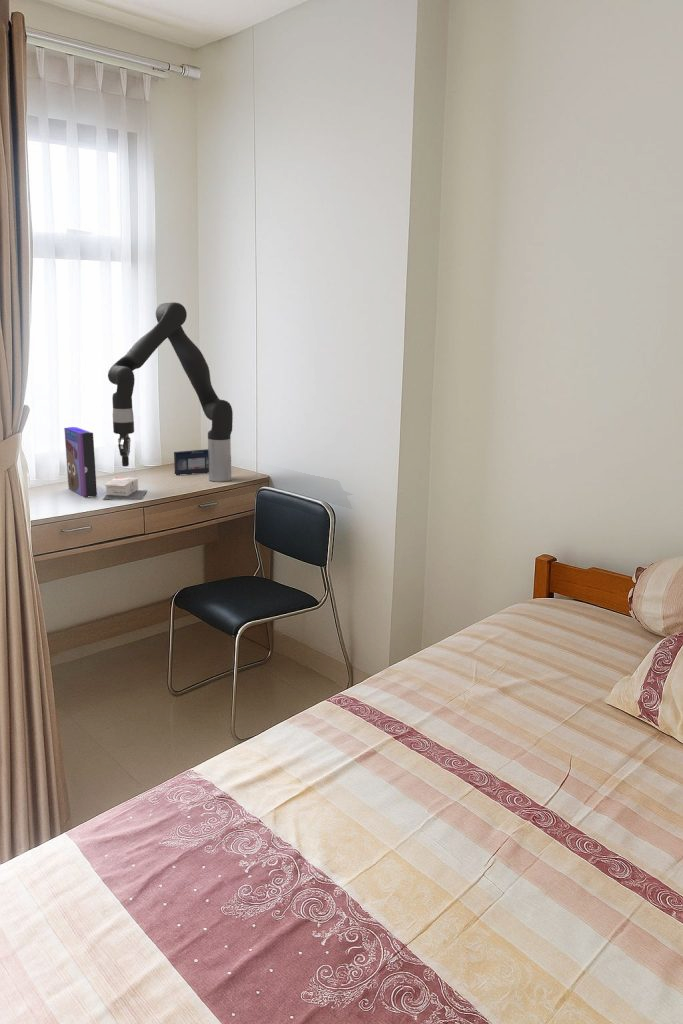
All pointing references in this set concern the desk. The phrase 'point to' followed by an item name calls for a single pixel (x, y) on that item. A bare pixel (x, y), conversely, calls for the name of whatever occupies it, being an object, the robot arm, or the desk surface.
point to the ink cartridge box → (121, 486)
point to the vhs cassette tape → (191, 462)
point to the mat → (135, 495)
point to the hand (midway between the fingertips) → (125, 465)
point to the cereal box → (80, 461)
